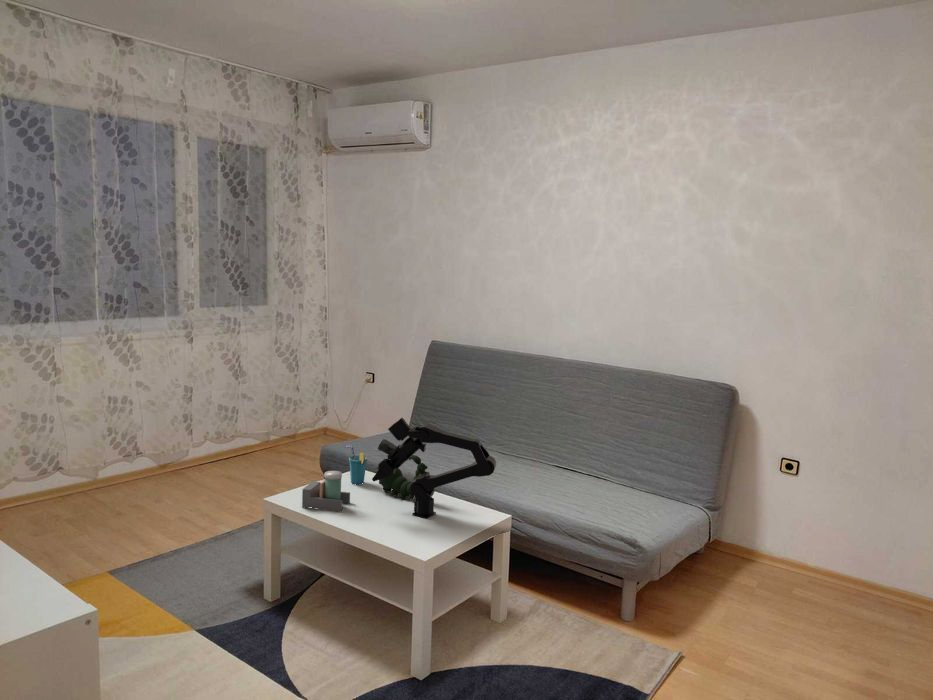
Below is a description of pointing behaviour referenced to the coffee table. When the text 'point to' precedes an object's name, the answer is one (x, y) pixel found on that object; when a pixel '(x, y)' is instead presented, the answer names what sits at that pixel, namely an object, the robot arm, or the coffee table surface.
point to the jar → (333, 484)
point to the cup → (357, 467)
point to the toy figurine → (402, 480)
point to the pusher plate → (322, 489)
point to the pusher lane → (313, 498)
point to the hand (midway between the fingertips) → (376, 476)
